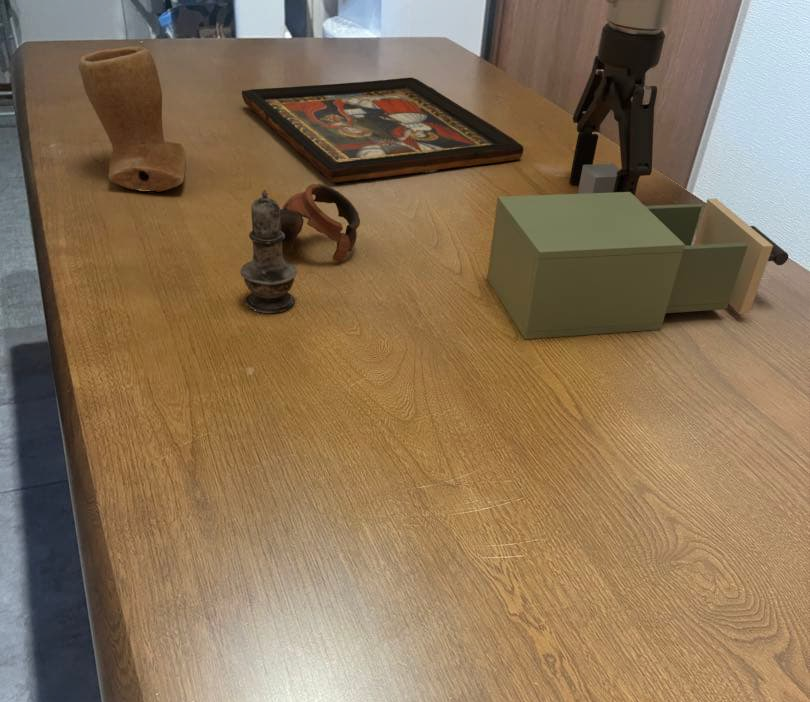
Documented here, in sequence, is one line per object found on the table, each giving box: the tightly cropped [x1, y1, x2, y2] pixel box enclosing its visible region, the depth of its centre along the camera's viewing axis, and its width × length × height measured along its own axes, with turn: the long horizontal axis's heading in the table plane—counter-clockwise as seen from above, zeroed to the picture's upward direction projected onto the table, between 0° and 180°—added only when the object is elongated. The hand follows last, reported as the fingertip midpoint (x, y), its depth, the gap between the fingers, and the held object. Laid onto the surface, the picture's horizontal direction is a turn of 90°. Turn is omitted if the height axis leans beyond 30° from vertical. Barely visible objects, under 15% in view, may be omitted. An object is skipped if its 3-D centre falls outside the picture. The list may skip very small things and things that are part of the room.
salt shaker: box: [239, 189, 298, 314], centre depth 90 cm, size 6×6×12 cm
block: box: [577, 163, 621, 194], centre depth 117 cm, size 4×4×4 cm
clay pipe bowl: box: [78, 46, 187, 192], centre depth 112 cm, size 15×12×15 cm
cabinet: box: [486, 192, 685, 340], centre depth 94 cm, size 16×14×10 cm
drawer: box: [644, 198, 789, 315], centre depth 97 cm, size 19×12×8 cm, turn 103°
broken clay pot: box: [280, 183, 361, 263], centre depth 101 cm, size 12×10×8 cm
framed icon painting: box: [241, 77, 524, 183], centre depth 133 cm, size 38×35×3 cm
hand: (597, 202), depth 119 cm, fingers open, 13 cm apart
